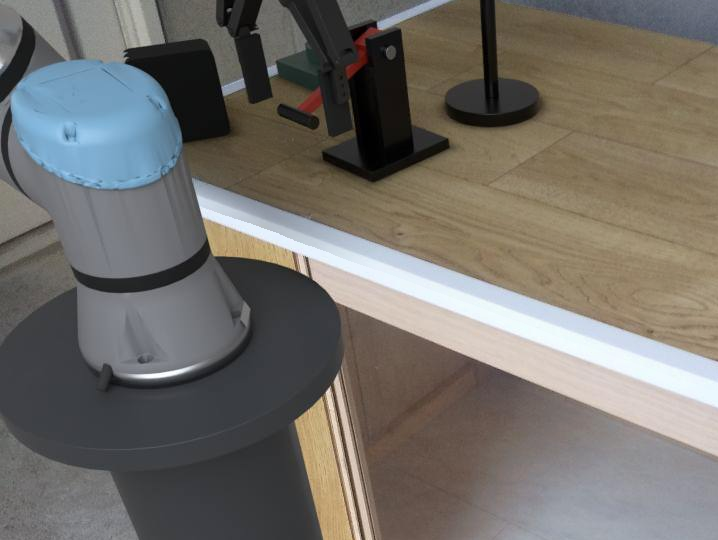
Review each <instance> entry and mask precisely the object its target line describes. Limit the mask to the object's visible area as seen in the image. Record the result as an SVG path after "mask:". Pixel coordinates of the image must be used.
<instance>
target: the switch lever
mask: <svg viewBox="0 0 718 540" xmlns="http://www.w3.org/2000/svg"><path fill="white" fill-rule="evenodd" d="M382 31H383V30H382V29H379V28H378V29H376V28H373V27H370V28H369V29H368V30H367V31H366V32H365V33H364V34H362V35H361V36H360V37H359V38H358V39H357V40H356V41H355V42H354V44H355V46H356V48H357V51H358V54H359V58H360V59H359V61H358V62H356V63H354V64H351V65H348V66H347V67H346V73H347V80H348V79H349V78H350V77H351V76H352V75H354V74H355V73H356V72H357V71H358V70H359V69H360V68H361V67H362V66H363V65H364V64H365V63H367V64H368V59H367V51H366V44H365V37H368V36H371V35H373V34H376V33H379V32H382ZM322 105H323V102H322V96H321V91H320V87H318V88H317V89H316V90H315V91H314V90H313V92H312V93H310V95H309V96H307V97H306V99H304V100H303V101H302V102H301V103H300V104H299V105H298V106H296V107H295V106H292V105H290V104H288V103H285V102H280V103H279V104H278V105H277V107H276V113H277V115H278V116H279V117H280V118H283V119H286V120H287V121H289V122H292V123H295V124H297V125H299V126H302V127H304V128H307V129H309V130H311V131H315V130H317V129H318V128H319V127H320V123H321V121H320V118H319V116H317V115H315V114H313V113H314V112H316V111H317V109H318V108H320V106H322Z"/></svg>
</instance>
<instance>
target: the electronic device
mask: <svg viewBox="0 0 718 540" xmlns="http://www.w3.org/2000/svg"><path fill="white" fill-rule="evenodd" d="M121 58H122V63H124V64H127V65H130V66H133V67H136V68H138V69H140V70H142V71H144V72H145V73H147V74H149V75H150V76H151V77H152V78H154V79H155V80H156V81H157V82H158V83H159V84H160V86H161V87H162V88H163V90H164V91H165V93H166V95H167V97H168V100H169V103H170V105H171V108H172V111H173V113H174V116H175V117H176V118H177V120H178V123H179V126H180V130H181V133H182V143H188V142H189V143H190V142H195V141H201V140H207V139H212V138H213V139H214V138H219V137H226V136H227V135H229V134H230V133H231V130H232V126H231V122H230V117H229V114H228V109H227V106H226V100H225V97H224V91H223V89H222V84H221V80H220V75H219V71H218V66H217V63H216V58H215V55H214V53H213V50H212V48H211V47H210V44H209V43H208V41H207V40H205V39H204V38H193V39H186V40H179V41H171V42H165V43H157V44H151V45H150V44H149V45H143V46H136V47H129V48H125V49H124V50H123V52H122V53H121Z"/></svg>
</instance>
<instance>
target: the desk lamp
mask: <svg viewBox="0 0 718 540" xmlns="http://www.w3.org/2000/svg"><path fill="white" fill-rule="evenodd" d="M479 13H480V14H479V16H480V32H481V49H482V51H481V52H482V69H483V78H476V79H471V80H467V81H463V82H460V83H458V84H456V85H454V86H452V87H450V88H449V89H448V90H447V91H446V92H445V94H444V108H445V113H446V115H447V116H448V118H450V119H451V120H453V121H455V122H457V123H459V124H463V125H467V126H470V127H471V126H472V127H480V128H497V127H498V128H499V127H507V126H512V125H516V124H519V123H523V122H525V121H528V120H530V119H532V118H533V117H534V116H535V115H536V114H537V113H538V112H539V110H540V92H539V90H538V88H537V87H536V86H534V85H532V84H531V83H528V82H526V81H523V80H519V79H515V78H508V77H499V66H498V65H499V63H498V62H499V61H498V41H497V40H498V39H497V18H496V0H479Z"/></svg>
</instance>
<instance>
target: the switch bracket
mask: <svg viewBox="0 0 718 540" xmlns="http://www.w3.org/2000/svg"><path fill="white" fill-rule="evenodd" d="M347 27H348V29H349V32H350V34H351V37H352V39H353V41H354V42H355V41H356V40H357V39H358V38H359V37H360V36H361V35H362V34H364V33H365V32H366V31H367V30H368V29H369V28H370V27H373V28H376V29H379V27H378V21H377V20H375V19H372V18H369V19H367V20H364V21H361V22H357V23H355V24H353V25H350V26H349V25H348V26H347ZM402 33H403V32H402V28H401V27H397V26H394V27H391V28H388V29H384V30H382V32H379V33H376V34H373V35H371V36H368V37H365V44H366V51H367V59H368V64H367V63H365V64H364V65H363V66H362V67H361V68H360V69H359V70H358V71H357V72H356V73H355V74H354V75H352V76H351V77H350V78H349V79H348V84H349V93H350V106H351V112H352V117H353V118H352V119H353V124H354V125H353V126H354V130H355V131H354V132H355V136H353V137H351V138H349V139H346V140H344V141H341V142H339V143H337V144H335V145H332V146H329V147H327V148H325V149H323V150H321V156H322V161H323V162H325V163H328V164H330V165H333V166H334V167H337V168H339V169H341V170H344V171H346V172H348V173H351V174H353V175H355V176H358V177H360V178H363V179H364V180H367V181H369V182H372V183H376V182H378V181H381V180H382V179H384V178H387V177H389V176H392V175H394V174H395V173H398V172H400V171H403V170H404V169H407V168H409V167H411V166H414V165H415V164H418V163H420V162H422V161H424V160H426V159H428V158H431V157H433V156H435V155H438V154H439V153H441V152H444V151H446V150H448V149H450V138H449V137H446V136H444V135H441V134H439V133H438V134H437V133H435V132H433V131H430V130H428V129H426V128H423V127H419V126H417V125H414V124H412V117H411V107H410V97H409V89H408V88H409V87H408V79H407V70H406V61H405V51H404V42H403V34H402ZM356 49H357V48H356ZM344 51H345V50H344Z"/></svg>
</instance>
